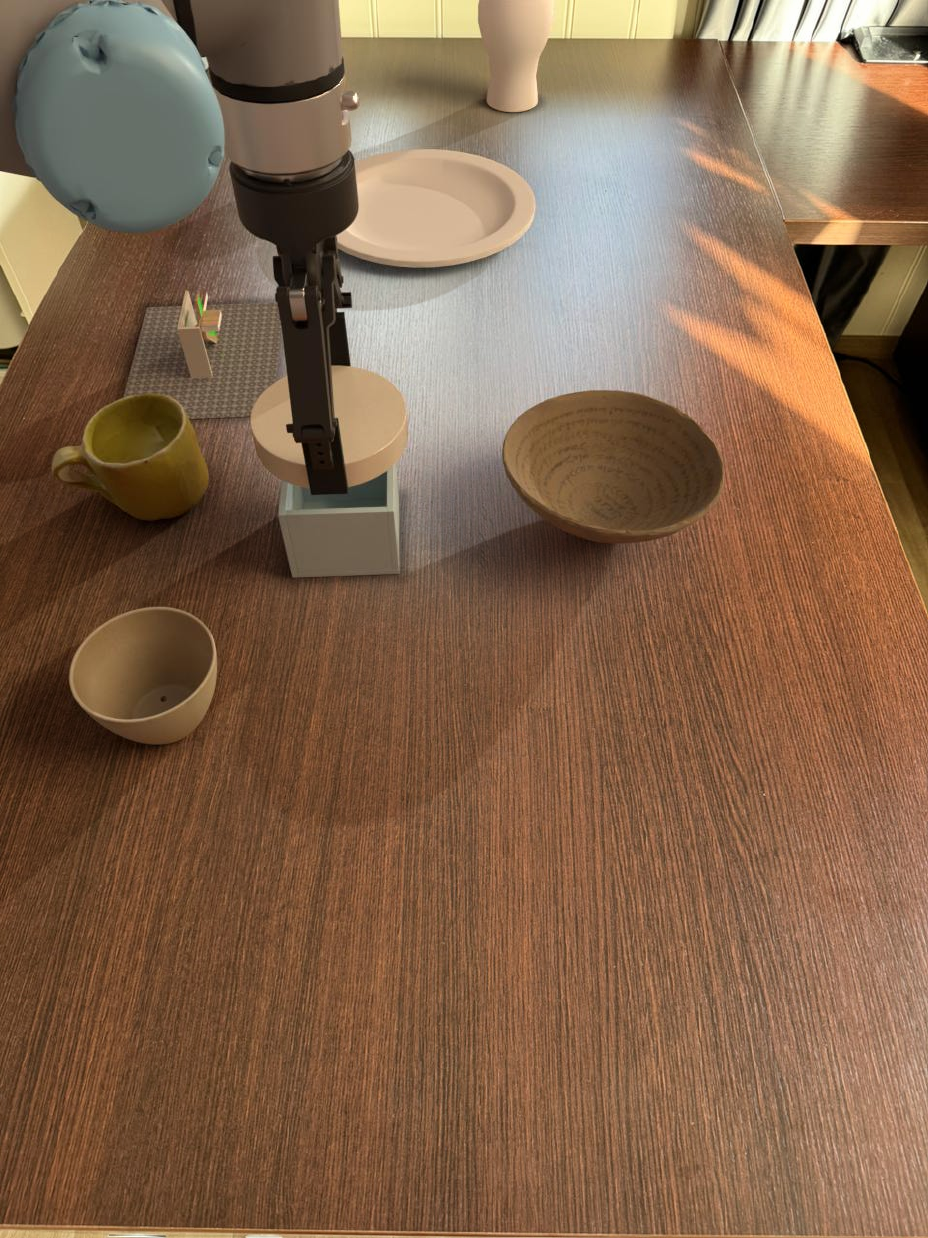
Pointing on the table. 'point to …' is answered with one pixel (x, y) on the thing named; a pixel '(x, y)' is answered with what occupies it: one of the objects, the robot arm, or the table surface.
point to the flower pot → (147, 674)
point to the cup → (514, 49)
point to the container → (342, 529)
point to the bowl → (613, 466)
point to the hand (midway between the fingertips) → (333, 434)
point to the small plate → (365, 426)
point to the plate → (435, 208)
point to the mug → (139, 458)
